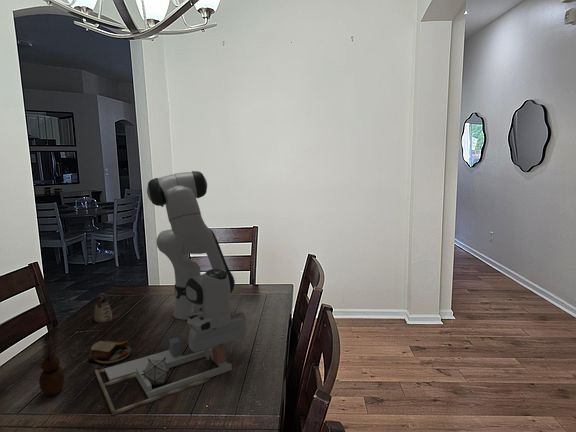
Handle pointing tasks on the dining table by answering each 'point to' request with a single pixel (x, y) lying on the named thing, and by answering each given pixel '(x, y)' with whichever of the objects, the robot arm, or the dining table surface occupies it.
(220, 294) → the robot arm
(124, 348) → the toy sandwich meal
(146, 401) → the lane rails
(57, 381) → the wooden figurine
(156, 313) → the dining table surface
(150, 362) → the game die
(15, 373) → the dining table surface
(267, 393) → the dining table surface
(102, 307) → the figurine
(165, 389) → the grey rectangular frame
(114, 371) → the inner strip
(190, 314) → the wineglass
